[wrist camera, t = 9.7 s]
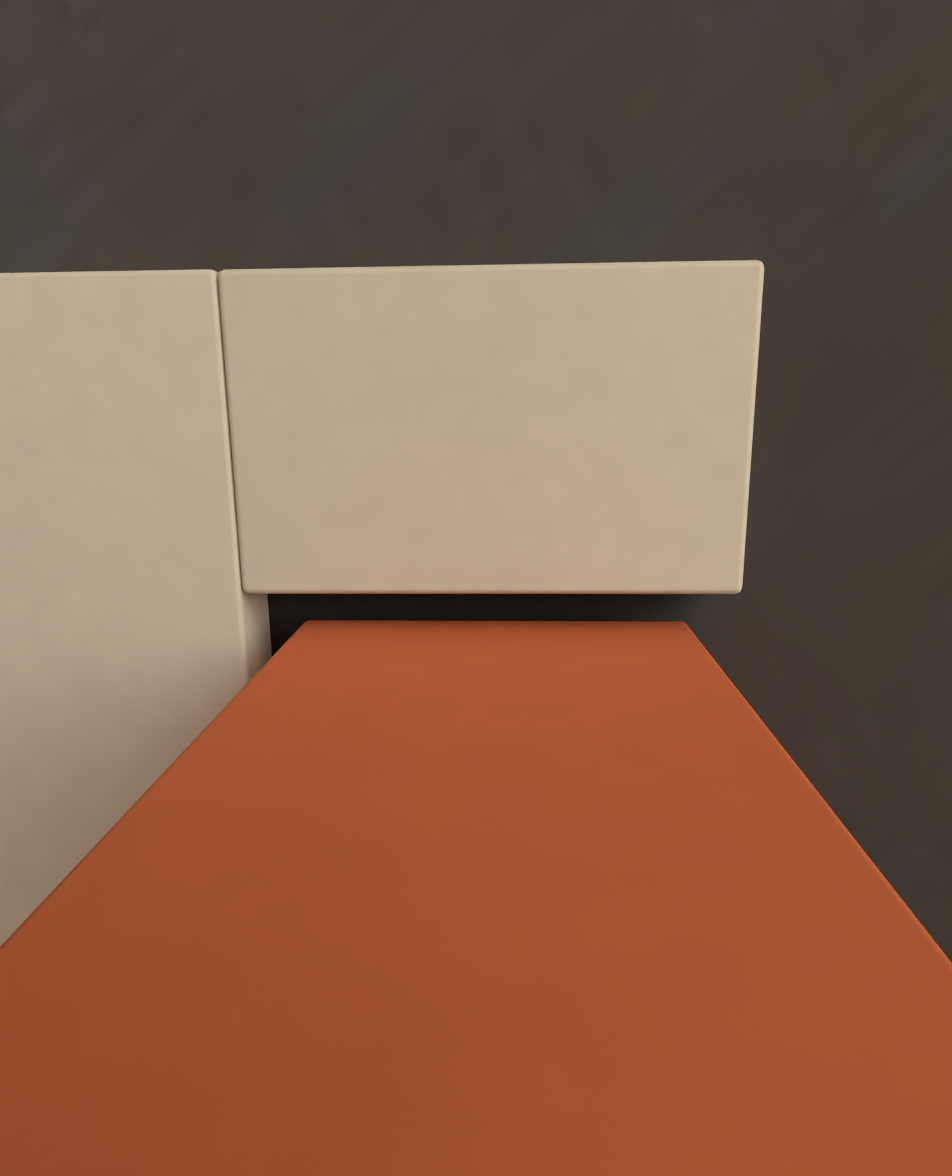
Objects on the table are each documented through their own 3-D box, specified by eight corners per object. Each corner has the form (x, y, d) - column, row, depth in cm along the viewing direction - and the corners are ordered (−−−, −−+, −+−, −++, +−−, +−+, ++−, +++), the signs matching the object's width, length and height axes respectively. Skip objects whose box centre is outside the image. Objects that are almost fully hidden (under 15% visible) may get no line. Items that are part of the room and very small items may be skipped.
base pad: (676, 1261, 12) (691, 1338, 11) (-454, 1219, 13) (-534, 1287, 12) (739, 274, 9) (768, 258, 8) (-781, 299, 9) (-928, 288, 9)
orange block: (662, 1062, 11) (929, 2240, 4) (331, 1053, 11) (26, 2152, 4) (684, 620, 9) (1180, 1236, 2) (304, 618, 9) (-238, 1186, 3)
